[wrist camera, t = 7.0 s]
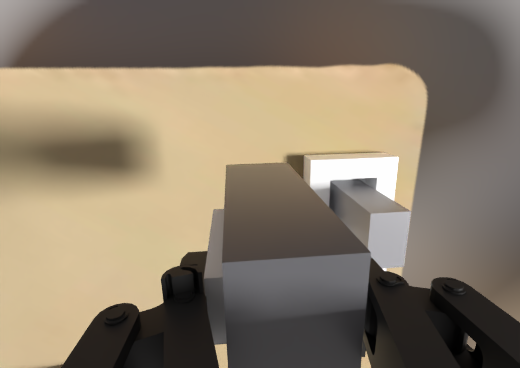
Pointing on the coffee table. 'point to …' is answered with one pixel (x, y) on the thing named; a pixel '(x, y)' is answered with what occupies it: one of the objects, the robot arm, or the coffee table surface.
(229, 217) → the grey rectangular block
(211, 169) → the coffee table surface
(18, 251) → the coffee table surface
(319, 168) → the socket strip
